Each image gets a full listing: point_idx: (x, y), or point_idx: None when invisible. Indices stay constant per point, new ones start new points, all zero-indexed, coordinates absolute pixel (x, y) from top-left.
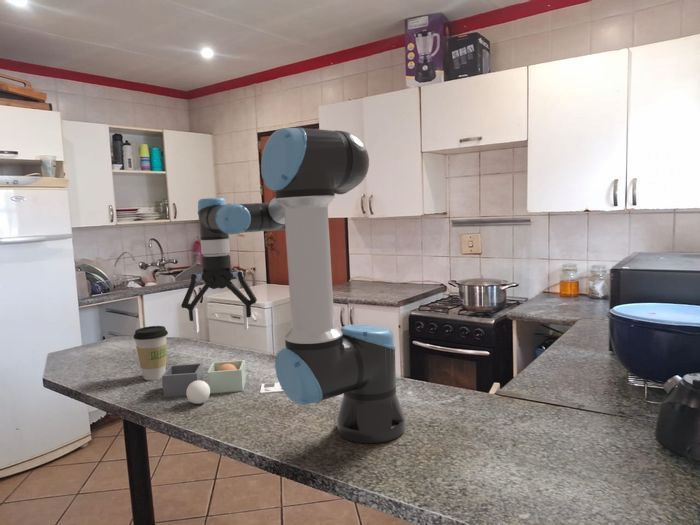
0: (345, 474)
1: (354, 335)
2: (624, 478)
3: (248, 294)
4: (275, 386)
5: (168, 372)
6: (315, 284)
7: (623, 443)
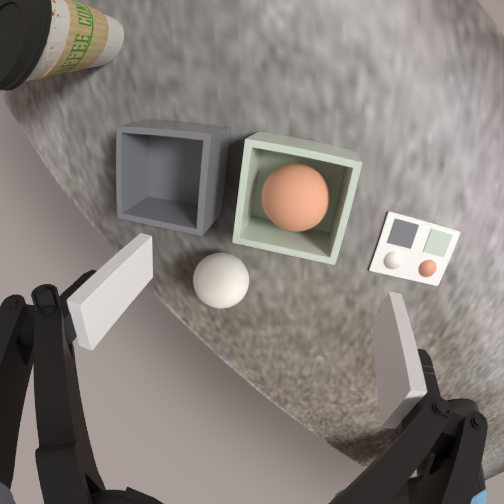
0: (368, 462)
1: None
2: (490, 470)
3: (422, 494)
4: (413, 247)
5: (124, 174)
6: None
7: None
